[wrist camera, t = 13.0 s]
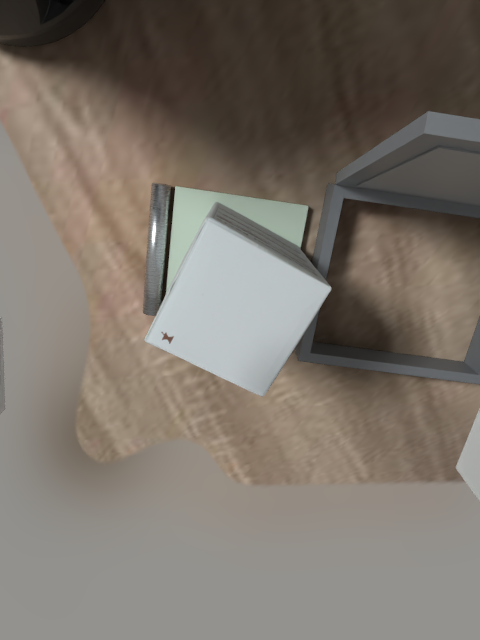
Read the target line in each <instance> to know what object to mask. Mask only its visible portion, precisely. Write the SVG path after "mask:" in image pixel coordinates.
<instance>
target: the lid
mask: <svg viewBox="0 0 480 640" xmlns="http://www.w3.org/2000/svg"><path fill="white" fill-rule="evenodd" d="M335 185H342V186H348V187H355V188H362V189H368V190H375V191H381V192H388V193H395V194H401V195H408V196H415V197H421V198H428V199H434V200H441V201H448V202H454V203H461V204H468V205H474V206H480V119H475V118H468V117H462V116H456V115H450V114H444V113H438V112H431V111H428V112H426V113H425V114H423V115H422V116H420V117H419V118H417V119H416V120H414V121H413V122H411V123H410V124H408V125H407V126H405V127H404V128H402V129H401V130H399V131H398V132H396V133H395V134H393V135H392V136H391V137H389V138H388V139H386V140H385V141H383V142H382V143H380V144H379V145H377V146H376V147H374V148H373V149H371V150H370V151H368V152H367V153H365V154H364V155H362V156H361V157H359V158H358V159H356V160H355V161H353V162H352V163H350V164H349V165H347V166H346V167H344V168H343V169H341V170H340V171H339V172H337V175H336V181H335Z"/></svg>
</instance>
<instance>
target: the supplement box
mask: <svg viewBox="0 0 480 640" xmlns="http://www.w3.org/2000/svg"><path fill="white" fill-rule="evenodd" d="M331 289H332V288H331V286H330V285H329V284H328V282H327V281H326V280H325V279H324V278H323V276H322V275H321V274H320V273H319V271H318V270H317V269H316V268H315V267H314V266H313V264H312V263H311V262H310V261H309V259H308V258H307V257H306V255H305V254H304V253H303V252H302V250H301V249H300V248H299V247H298V246H297V245H296V244H294V243H292V242H290V241H288V240H286V239H284V238H283V237H281V236H279V235H277V234H276V233H274V232H272V231H270V230H268V229H267V228H265V227H263V226H261V225H259V224H257V223H256V222H254V221H252V220H250V219H248V218H247V217H245V216H243V215H241V214H239V213H238V212H236V211H234V210H232V209H230V208H228V207H227V206H225V205H223V204H221V203H219V202H215V203H214V204H213V206H212V208H211V210H210V211H209V213H208V214H207V216H206V217H205V219H204V221H203V222H202V224H201V226H200V228H199V230H198V232H197V234H196V236H195V237H194V239H193V241H192V243H191V245H190V247H189V249H188V251H187V253H186V255H185V257H184V258H183V260H182V262H181V264H180V266H179V268H178V270H177V272H176V274H175V277H174V279H173V281H172V283H171V285H170V287H169V289H168V291H167V293H166V295H165V297H164V300H163V302H162V304H161V306H160V308H159V310H158V312H157V314H156V317H155V319H154V321H153V323H152V325H151V327H150V329H149V331H148V333H147V335H146V337H145V342H146V343H148V344H151V345H153V346H155V347H157V348H160V349H162V350H164V351H166V352H169V353H171V354H173V355H175V356H177V357H179V358H181V359H184V360H186V361H188V362H190V363H192V364H194V365H196V366H198V367H200V368H202V369H204V370H207V371H209V372H211V373H213V374H215V375H217V376H219V377H221V378H223V379H225V380H227V381H230V382H232V383H234V384H236V385H238V386H240V387H242V388H244V389H246V390H248V391H250V392H253V393H255V394H257V395H260V396H264V395H265V394H266V392H267V391H268V389H269V388H270V386H271V385H272V383H273V382H274V380H275V379H276V377H277V376H278V374H279V372H280V371H281V369H282V368H283V366H284V364H285V363H286V361H287V360H288V358H289V357H290V355H291V353H292V352H293V350H294V349H295V347H296V346H297V344H298V342H299V341H300V339H301V338H302V336H303V334H304V333H305V331H306V330H307V328H308V327H309V325H310V323H311V322H312V320H313V318H314V317H315V315H316V314H317V312H318V310H319V309H320V307H321V306H322V304H323V302H324V301H325V299H326V297H327V296H328V294H329V293H330V291H331Z"/></svg>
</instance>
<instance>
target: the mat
mask: <svg viewBox="0 0 480 640" xmlns="http://www.w3.org/2000/svg"><path fill="white" fill-rule="evenodd" d="M215 202H219V203H221V204H223V205H225V206H227V207H228V208H230V209H232V210H234V211H236V212H238V213H239V214H241V215H243V216H245V217H247V218H248V219H250V220H252V221H254V222H256V223H257V224H259V225H261V226H263V227H265V228H267V229H268V230H270V231H272V232H274V233H276V234H277V235H279V236H281V237H283V238H284V239H286V240H288V241H290V242H292V243H294V244H296V245H297V246H298V247H299V248H300V249H301V243H302V238H303V233H304V228H305V222H306V217H307V212H308V207H309V206H308V205H301V204H294V203H288V202H281V201H274V200H267V199H260V198H254V197H247V196H240V195H233V194H227V193H220V192H213V191H206V190H200V189H193V188H186V187H179V186H175V195H174V207H173V218H172V230H171V241H170V253H169V264H168V275H167V287H166V293H167V291H168V289H169V287H170V285H171V283H172V281H173V279H174V277H175V274H176V272H177V270H178V268H179V266H180V264H181V262H182V260H183V258H184V257H185V255H186V253H187V251H188V249H189V247H190V245H191V243H192V241H193V239H194V237H195V236H196V234H197V232H198V230H199V228H200V226H201V224H202V222H203V221H204V219H205V217H206V216H207V214H208V213H209V211H210V210H211V208H212V206H213V204H214V203H215Z"/></svg>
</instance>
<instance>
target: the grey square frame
mask: <svg viewBox="0 0 480 640" xmlns="http://www.w3.org/2000/svg"><path fill="white" fill-rule="evenodd" d="M344 198H347V199H354V200H360V201H367V202H374V203H380V204H387V205H394V206H401V207H407V208H414V209H421V210H427V211H434V212H441V213H447V214H454V215H461V216H467V217H474V218H480V206H474V205H468V204H461V203H454V202H448V201H441V200H434V199H428V198H421V197H415V196H408V195H401V194H395V193H388V192H381V191H375V190H368V189H362V188H355V187H348V186H342V185H335V184H330V183H328V185H327V189H326V194H325V199H324V204H323V209H322V214H321V219H320V224H319V229H318V234H317V239H316V244H315V249H314V254H313V259H312V264H313V266H314V267H315V268H316V269H317V270H318V271H319V273H320V274H321V275H322V276H323V278H324V279H325V280H326V277H327V273H328V268H329V263H330V259H331V254H332V250H333V245H334V240H335V236H336V231H337V226H338V222H339V217H340V213H341V208H342V203H343V199H344ZM319 310H320V309H319ZM319 310H318V312H317V314H316V315H315V317H314V318H313V320H312V322H311V323H310V325H309V327H308V328H307V330H306V331H305V333H304V334H303V336H302V338H301V339H300V341H299V342H298V344H297V346H296V347H295V352H296V355H297V358H298V361H303V362H310V363H318V364H326V365H334V366H342V367H349V368H357V369H365V370H373V371H381V372H388V373H396V374H404V375H412V376H420V377H427V378H435V379H443V380H451V381H459V382H466V383H474V384H480V318H479V320H478V323H477V326H476V329H475V332H474V335H473V338H472V340H471V343H470V346H469V349H468V352H467V355H466V358H465V360H464V362H461V361H454V360H446V359H438V358H431V357H423V356H416V355H408V354H400V353H393V352H385V351H377V350H370V349H362V348H354V347H347V346H339V345H332V344H324V343H316V342H313V338H314V333H315V328H316V324H317V319H318V314H319Z"/></svg>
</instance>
